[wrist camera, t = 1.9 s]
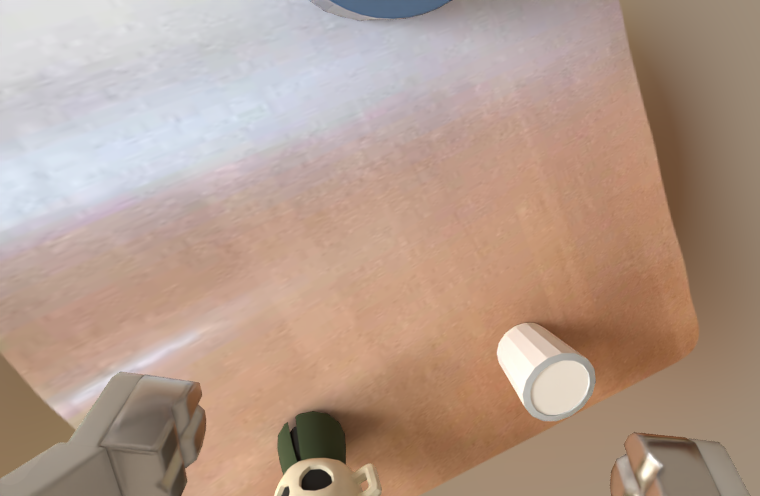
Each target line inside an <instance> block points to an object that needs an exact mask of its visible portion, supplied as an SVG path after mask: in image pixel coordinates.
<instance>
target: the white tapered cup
mask: <svg viewBox="0 0 760 496" xmlns="http://www.w3.org/2000/svg"><path fill="white" fill-rule="evenodd" d="M497 356H498V362H499V364H500V365H501V367H502V369H503V370H504V372H505V374H506V376H507V377H508V379H509V381H510V382H511V384H512V386H513V388H514V389H515V391H516V393H517V394H518V396H519V398H520V400H521V401H522V403H523V405H524V406H525V408H526V409H527V410H528V412H529V413H530V414H531V415H532V416H533V417H535V418H538V419H540V420H542V421H558V420H561V419H564V418H567V417H569V416H572V415H573V414H574V413H576V412H577V411H578V410H580V409H581V408H582V407H583V406H584V405H585V403H586V402H587V401H588V399H589V398H590V397H591V395H592V392H593V389H594V386H595V383H596V379H595V370H594V368H593V366H592V365H591V363H590V362H589V361H588V359H587V358H585V357H584V356H583V355H581V354H580V353H578V352H577V351H576V350H574V349H573V348H571V347H570V346H569V345H567V344H566V343H565V342H563V341H562V340H560V339H559V338H558V337H556V336H555V335H554V334H552V333H551V332H549V331H548V330H547V329H545V328H544V327H542V326H540V325H538V324H536V323H523V324H520V325H517V326H514V327H513V328H511V329H510V330H509V331H508V332H506V333H505V334H504V336H503V337H502V339H501V340H500V342H499V345H498V349H497Z"/></svg>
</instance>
